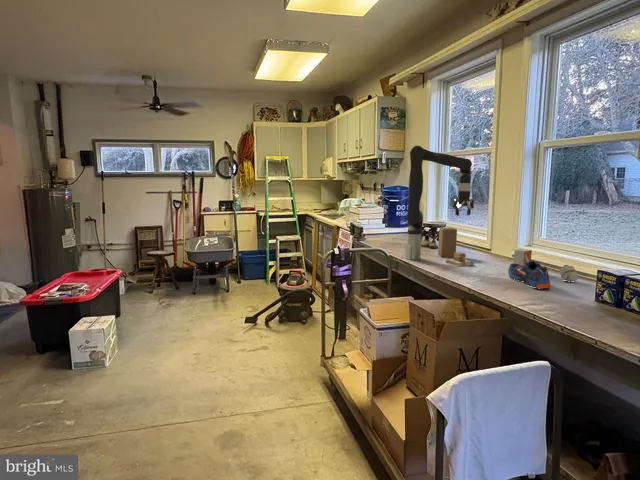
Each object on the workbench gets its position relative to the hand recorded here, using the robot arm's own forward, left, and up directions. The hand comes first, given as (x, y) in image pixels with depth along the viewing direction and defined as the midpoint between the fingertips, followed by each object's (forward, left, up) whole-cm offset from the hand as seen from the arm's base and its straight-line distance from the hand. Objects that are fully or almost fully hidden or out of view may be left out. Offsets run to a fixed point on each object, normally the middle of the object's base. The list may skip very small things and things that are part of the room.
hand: (462, 215), depth 270 cm
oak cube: (-6, -6, -29) cm, 30 cm away
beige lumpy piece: (+20, -63, -31) cm, 73 cm away
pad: (-6, -6, -31) cm, 32 cm away
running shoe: (-1, -58, -31) cm, 65 cm away
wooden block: (+2, +18, -31) cm, 36 cm away
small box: (+15, -36, -31) cm, 50 cm away
